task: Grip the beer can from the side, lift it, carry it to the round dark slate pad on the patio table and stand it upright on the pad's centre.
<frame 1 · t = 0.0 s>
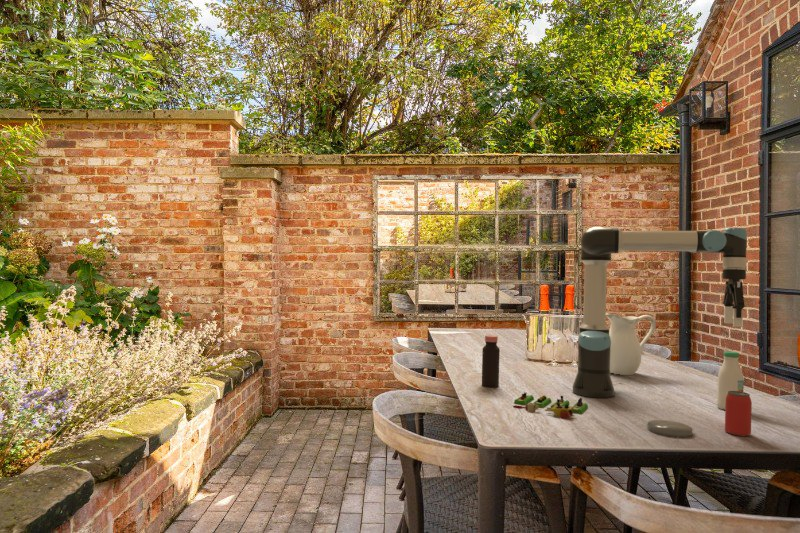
hand: (732, 325, 202), 28 cm above the table, tool pointing down, fingers open, 13 cm apart
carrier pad: (669, 431, 159), on the table
beer can: (737, 434, 158), on the table
vinegar: (490, 386, 215), on the table
toy garden set: (547, 410, 182), on the table
milk bottle: (729, 409, 187), on the table
pitcher: (628, 373, 248), on the table
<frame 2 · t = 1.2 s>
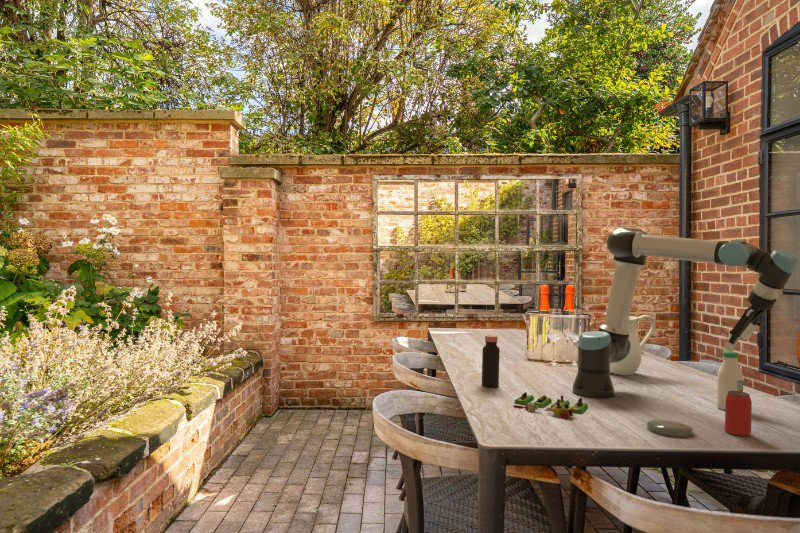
hand: (736, 344, 189), 22 cm above the table, tool tilted 30°, fingers open, 13 cm apart
milk bottle: (729, 409, 187), on the table, touching gripper
everything else where it was.
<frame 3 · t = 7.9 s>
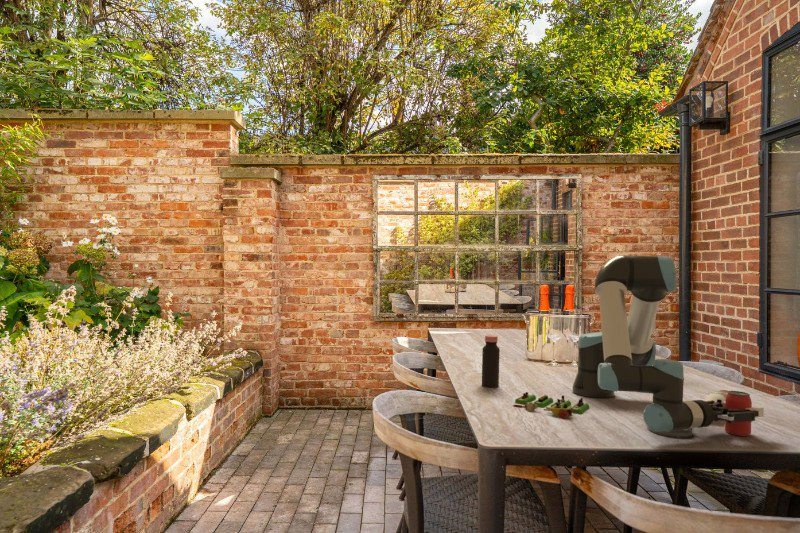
hand: (750, 408, 160), 7 cm above the table, tool horizontal, fingers closed on beer can, 6 cm apart
beer can: (737, 434, 158), on the table, touching gripper
milk bottle: (729, 399, 184), point 4 cm above the table
when the fingers open (10 cm above the table, at t = 12.7 s): beer can drops 1 cm, resting on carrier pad.
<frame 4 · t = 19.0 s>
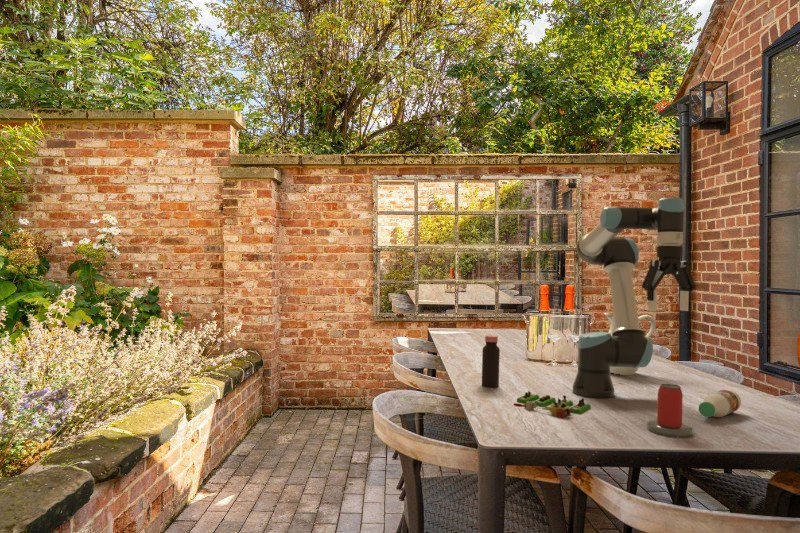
hand: (668, 310, 174), 35 cm above the table, tool pointing down, fingers open, 13 cm apart
beer can: (669, 426, 159), point 1 cm above the table, touching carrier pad
at the end: beer can 0.1 cm from the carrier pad (horizontally); beer can touching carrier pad; beer can tilted 0° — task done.
